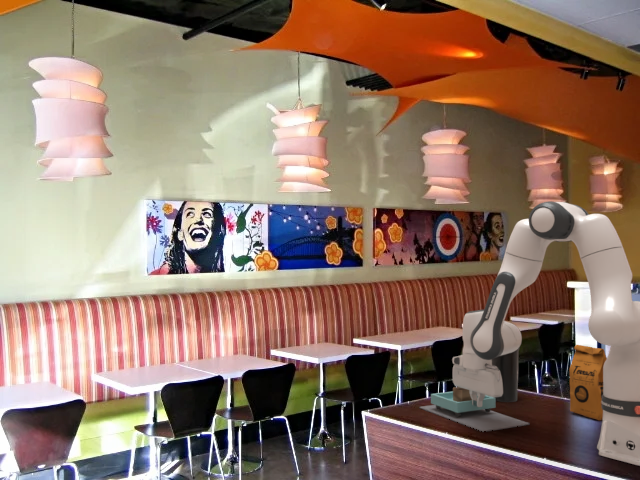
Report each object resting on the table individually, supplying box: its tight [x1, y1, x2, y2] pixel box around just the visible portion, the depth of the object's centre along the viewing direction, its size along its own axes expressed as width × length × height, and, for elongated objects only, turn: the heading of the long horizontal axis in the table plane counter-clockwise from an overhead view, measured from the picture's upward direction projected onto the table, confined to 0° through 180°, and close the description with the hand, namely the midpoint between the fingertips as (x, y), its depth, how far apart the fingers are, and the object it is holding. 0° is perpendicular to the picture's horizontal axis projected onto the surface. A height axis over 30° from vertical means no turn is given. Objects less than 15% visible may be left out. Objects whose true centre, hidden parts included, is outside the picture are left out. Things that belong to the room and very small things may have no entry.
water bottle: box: [492, 346, 521, 403], centre depth 233 cm, size 10×10×23 cm
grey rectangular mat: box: [419, 404, 530, 433], centre depth 211 cm, size 32×18×1 cm, turn 26°
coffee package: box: [569, 344, 608, 421], centre depth 210 cm, size 10×12×22 cm
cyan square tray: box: [430, 390, 497, 416], centre depth 215 cm, size 14×15×5 cm
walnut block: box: [452, 386, 472, 402], centre depth 215 cm, size 4×4×4 cm
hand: (477, 406), depth 207 cm, fingers closed
